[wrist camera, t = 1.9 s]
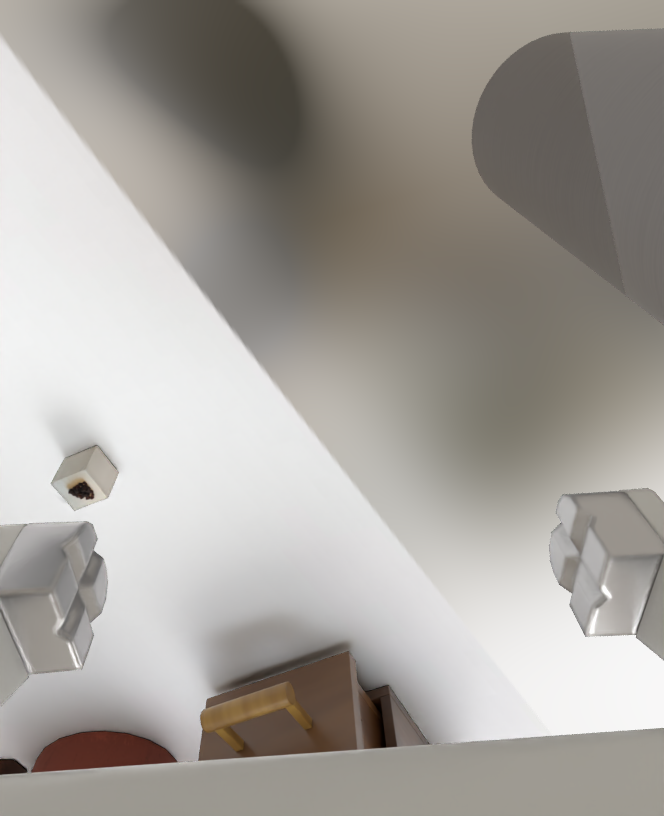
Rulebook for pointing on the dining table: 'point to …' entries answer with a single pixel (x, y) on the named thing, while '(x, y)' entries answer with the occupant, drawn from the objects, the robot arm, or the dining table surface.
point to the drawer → (293, 714)
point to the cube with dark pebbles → (85, 478)
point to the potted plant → (93, 753)
